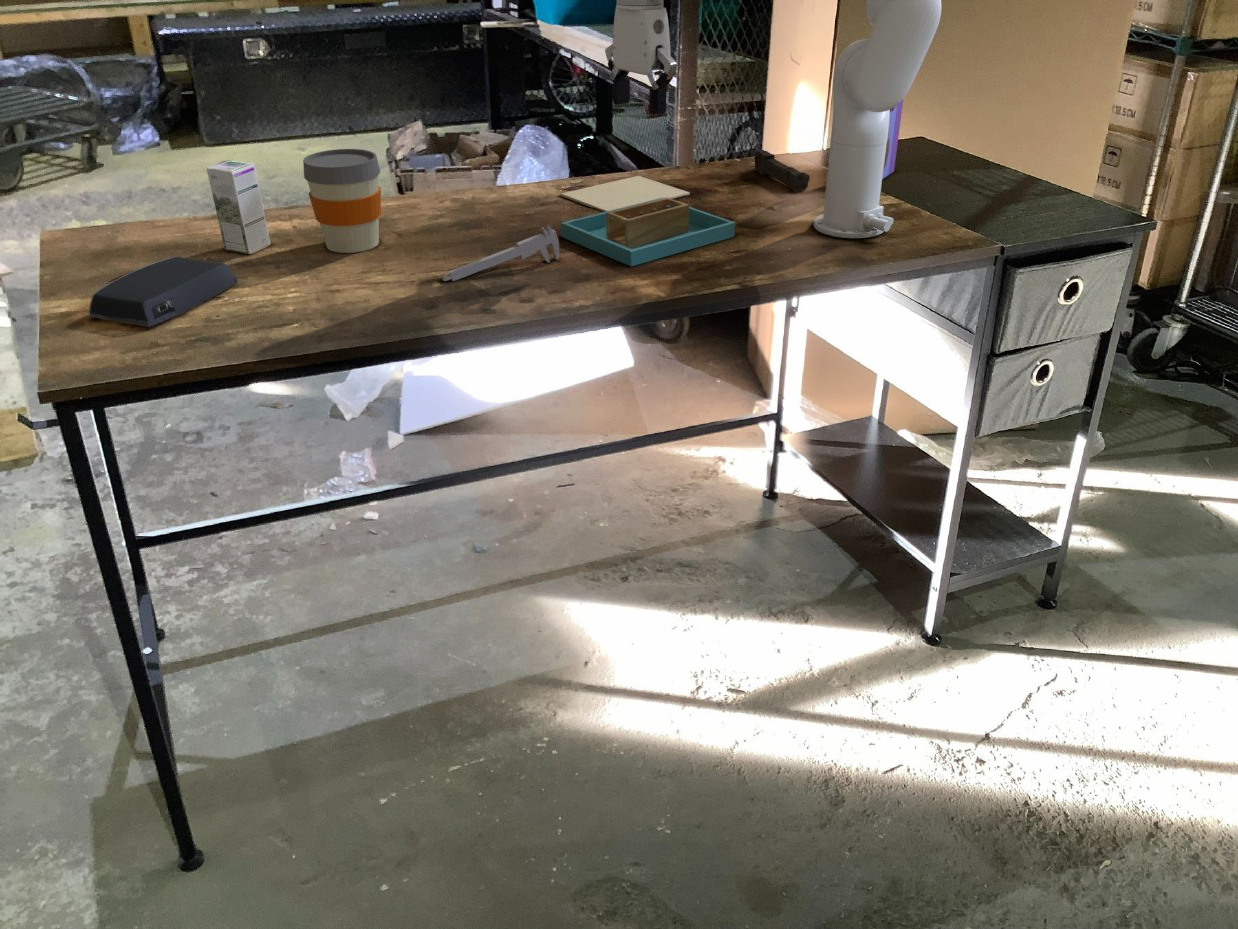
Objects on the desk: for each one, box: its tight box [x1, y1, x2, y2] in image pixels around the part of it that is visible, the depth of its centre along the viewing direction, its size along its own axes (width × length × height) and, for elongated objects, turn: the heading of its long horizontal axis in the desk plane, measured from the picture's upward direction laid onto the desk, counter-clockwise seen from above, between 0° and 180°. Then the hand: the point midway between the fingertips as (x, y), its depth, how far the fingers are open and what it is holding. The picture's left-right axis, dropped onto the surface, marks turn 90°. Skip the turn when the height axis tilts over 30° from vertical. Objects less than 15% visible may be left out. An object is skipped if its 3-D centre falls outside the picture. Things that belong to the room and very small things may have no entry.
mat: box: [560, 175, 691, 212], centre depth 202 cm, size 16×20×1 cm
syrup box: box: [206, 159, 272, 255], centre depth 174 cm, size 6×6×14 cm
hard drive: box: [88, 255, 239, 328], centre depth 156 cm, size 13×19×4 cm
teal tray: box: [560, 198, 736, 267], centre depth 180 cm, size 20×24×3 cm
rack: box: [606, 197, 690, 248], centre depth 179 cm, size 6×14×5 cm, turn 129°
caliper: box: [441, 224, 561, 282], centre depth 165 cm, size 20×1×6 cm, turn 118°
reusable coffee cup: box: [302, 148, 382, 254], centre depth 175 cm, size 12×13×15 cm
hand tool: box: [753, 149, 810, 194], centre depth 209 cm, size 19×4×5 cm, turn 19°
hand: (639, 108), depth 171 cm, fingers open, 9 cm apart
